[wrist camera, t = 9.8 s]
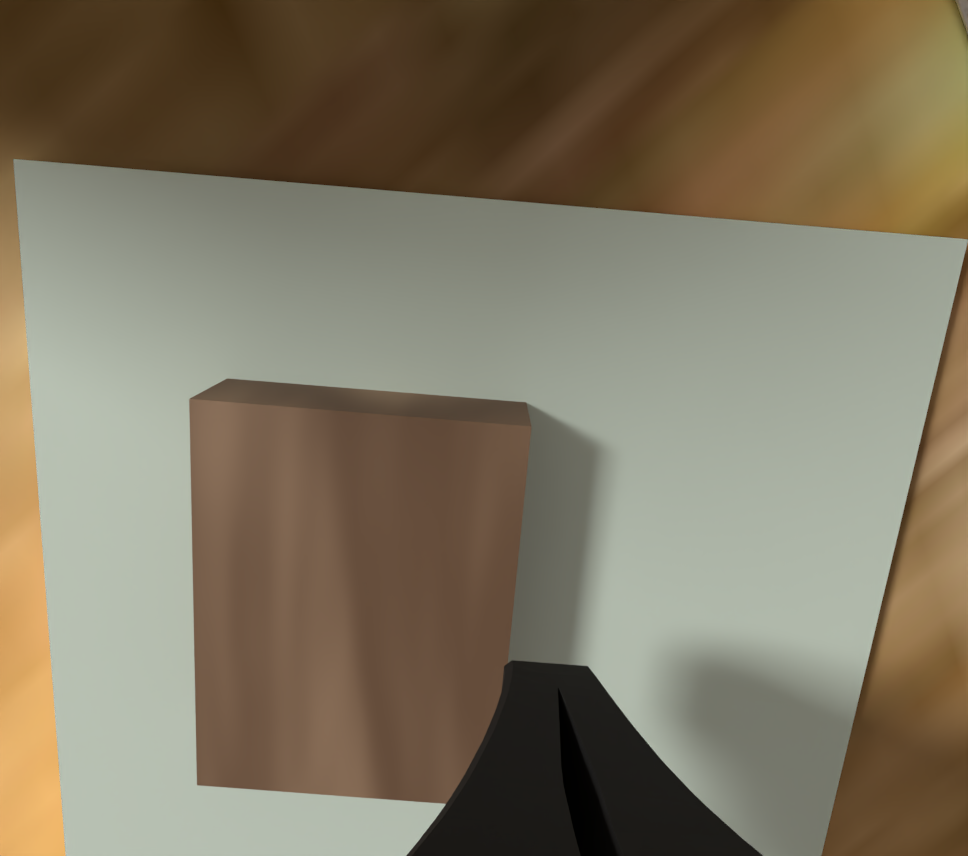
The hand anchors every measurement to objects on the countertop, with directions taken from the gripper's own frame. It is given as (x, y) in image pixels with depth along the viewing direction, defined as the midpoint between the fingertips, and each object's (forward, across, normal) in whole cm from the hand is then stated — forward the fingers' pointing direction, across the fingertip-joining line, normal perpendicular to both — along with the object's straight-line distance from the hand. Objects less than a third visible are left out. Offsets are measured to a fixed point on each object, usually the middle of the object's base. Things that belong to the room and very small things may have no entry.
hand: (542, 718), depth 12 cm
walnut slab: (+3, 0, 0) cm, 3 cm away
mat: (+5, +1, +1) cm, 5 cm away
